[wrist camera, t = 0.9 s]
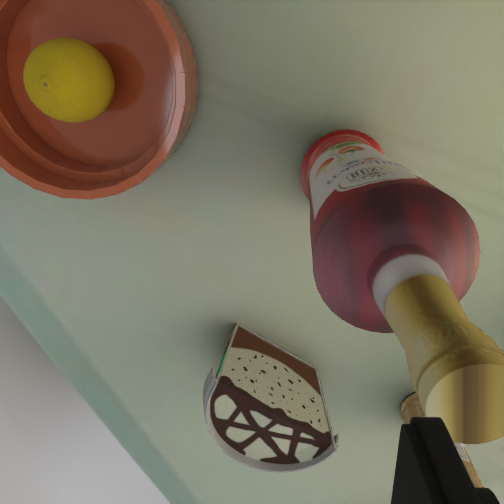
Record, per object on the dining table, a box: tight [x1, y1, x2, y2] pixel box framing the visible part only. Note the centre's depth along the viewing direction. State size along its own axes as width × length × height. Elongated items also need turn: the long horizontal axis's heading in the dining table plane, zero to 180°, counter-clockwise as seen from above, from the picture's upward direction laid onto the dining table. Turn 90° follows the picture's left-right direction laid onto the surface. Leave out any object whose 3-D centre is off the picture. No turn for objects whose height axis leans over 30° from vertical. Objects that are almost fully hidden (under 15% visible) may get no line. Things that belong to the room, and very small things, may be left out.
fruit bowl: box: [0, 0, 198, 199], centre depth 34 cm, size 16×16×6 cm
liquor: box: [300, 130, 504, 444], centre depth 25 cm, size 7×7×28 cm
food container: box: [203, 323, 339, 472], centre depth 41 cm, size 12×6×10 cm, turn 58°
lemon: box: [23, 38, 115, 122], centre depth 32 cm, size 6×6×8 cm
